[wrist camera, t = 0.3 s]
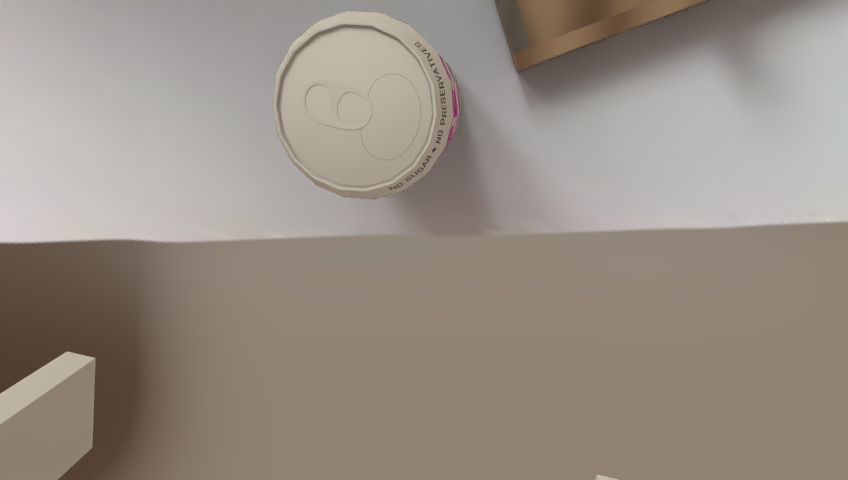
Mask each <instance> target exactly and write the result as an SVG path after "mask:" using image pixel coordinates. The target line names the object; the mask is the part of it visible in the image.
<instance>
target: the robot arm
mask: <svg viewBox="0 0 848 480" xmlns="http://www.w3.org/2000/svg"><path fill="white" fill-rule="evenodd" d="M94 380H95V358H93V357H88V356H84V355H79V354H75V353H71V352H66V353H64V354H63V355H61V356H59V357H58V358H56V359H55V360H53V361H51V362H50V363H48V364H47V365H45V366H44V367H42V368H40V369H39V370H37V371H36V372H34V373H32V374H31V375H29V376H28V377H26V378H25V379H23V380H21V381H20V382H18V383H17V384H15V385H14V386H12V387H10V388H9V389H7V390H6V391H4V392H2V393H1V394H0V480H58V479H59V478H60V477H61V476H62V475H63V474H64V473H65V472H66V471H67V470H68V469H69V468H71V467H72V465H74V464H75V463H76V462H77V461H78V460H79V459H80V458H81V457H82V456H83V455H84V454H86V453H87V452H88V451H89V450H90V449H91V448H92V439H93V412H94V384H95V381H94ZM596 480H618V479H614V478H610V477H605V476H601V475H597V477H596Z"/></svg>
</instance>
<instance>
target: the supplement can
mask: <svg viewBox="0 0 848 480" xmlns="http://www.w3.org/2000/svg"><path fill="white" fill-rule="evenodd" d="M272 105H273V111H274V116H275V122H276V128H277V133H278V137H279V138H280V140H281V142H282V144H283V146H284V148H285V149H286V151H287V153H288V155H289V157H290V159H291V160H292V162H293V164H294V165H295V166H296V167H298V168H299V169H300V170H301V171H302V172H303V173H304V174H305V175H306V176H307V177H308V178H309V179H310V180H312V181H313V182H314V183H315V184H316V185H318V186H320V187H322V188H325V189H327V190H329V191H331V192H334V193H336V194H338V195H340V196H343V197H349V198H363V199H377V198H381V197H384V196H388V195H391V194H395V193H398V192H402V191H404V190H406V189H407V188H408V187H410V186H411V185H412V184H414V183H415V182H416V181H418V180H419V179H420V178H422V177H423V176H425V175H426V174H427V173H428V172H429V171H430V169H431V168H432V167H433V165H434V164H435V162H436V161H437V159H438V158H439V156H440V155H441V153H442V152H443V150H444V149H445V148H446V146H447V144H448V143H449V141H450V140H451V138H452V137H453V135H454V134H455V132H456V131H457V127H458V123H459V118H460V114H461V110H462V109H461V98H460V88H459V86H458V84H457V81H456V79H455V77H454V75H453V73H452V71H451V69H450V67H449V66H448V65H447V63H446V62H445V61H444V60H443V59H442V58H441V56H440V55H439V54H438V53H437V52H436V50H435V49H434V48H433V47H432V46H431V45H430V44H429V43H428V42H427V41H426V40H425V39H424V38H423V37H422V36H420V35H419V34H418V33H417V32H416V31H415V30H414V29H413V28H412V27H411V26H409V25H407V24H405V23H403V22H400V21H398V20H396V19H394V18H392V17H389V16H387V15H385V14H383V13H378V12H356V11H347V12H344V13H341V14H338V15H335V16H332V17H329V18H327V19H324V20H321V21H318V22H316V23H315V24H314V25H313V26H312V27H310V28H309V29H308V30H307V31H306V32H305V33H304V34H302V35H301V36H300V37H299V38H298V39H297V40H295V41H294V42H293V43H292V45H291V47H290V49H289V50H288V52H287V54H286V56H285V58H284V60H283V62H282V63H281V65H280V67H279V69H278V71H277V76H276V82H275V89H274V95H273V102H272Z"/></svg>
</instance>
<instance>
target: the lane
mask: <svg viewBox="0 0 848 480" xmlns="http://www.w3.org/2000/svg"><path fill="white" fill-rule="evenodd" d="M706 1H709V0H495V3H496V6H497V9H498V13H499V16H500V19H501V22H502V26H503V29H504V32H505V36H506V39H507V42H508V45H509V49H510V52H511V55H512V58H513V62H514V65H515V68H516V71H520V70H522V69H525V68H528V67H530V66H533V65H536V64H539V63H541V62H544V61H547V60H549V59H552V58H555V57H557V56H560V55H563V54H566V53H568V52H571V51H574V50H576V49H579V48H582V47H585V46H587V45H590V44H593V43H595V42H598V41H601V40H603V39H606V38H609V37H612V36H614V35H617V34H620V33H622V32H625V31H628V30H630V29H633V28H636V27H639V26H641V25H644V24H647V23H649V22H652V21H655V20H658V19H660V18H663V17H666V16H668V15H671V14H674V13H676V12H679V11H682V10H685V9H687V8H690V7H693V6H695V5H698V4H701V3H703V2H706Z"/></svg>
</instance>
